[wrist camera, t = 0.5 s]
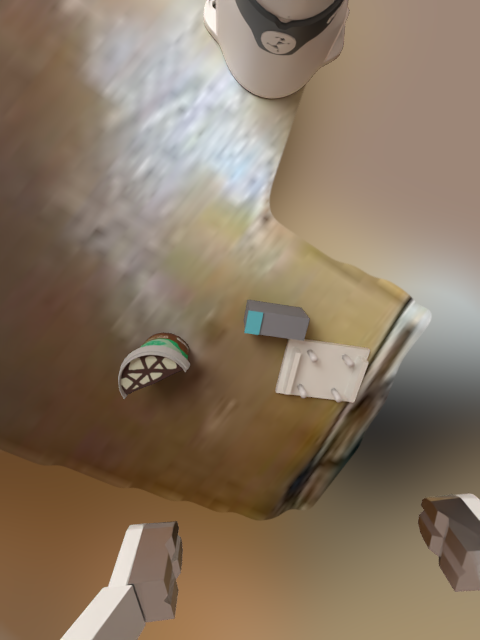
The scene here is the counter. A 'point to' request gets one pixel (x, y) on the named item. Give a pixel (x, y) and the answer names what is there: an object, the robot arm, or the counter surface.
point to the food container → (153, 362)
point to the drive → (275, 320)
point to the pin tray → (322, 370)
